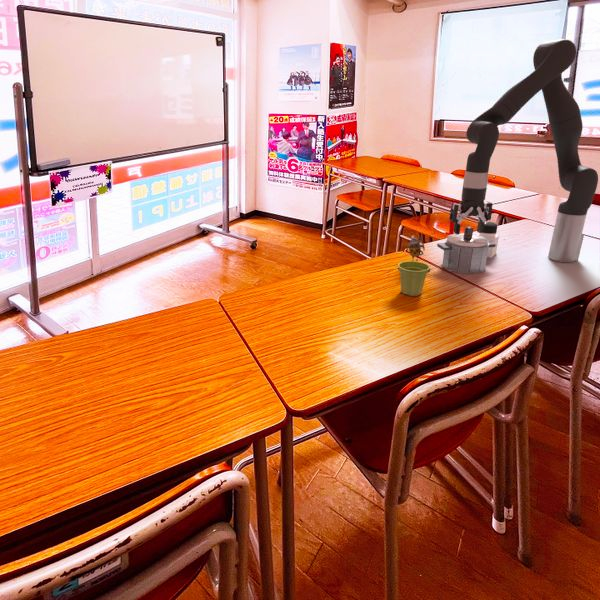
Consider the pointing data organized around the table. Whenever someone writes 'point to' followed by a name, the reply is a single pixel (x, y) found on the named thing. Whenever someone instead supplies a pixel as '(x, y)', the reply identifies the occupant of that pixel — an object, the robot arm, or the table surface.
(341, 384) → the table surface
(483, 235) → the medicine bottle
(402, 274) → the plant pot
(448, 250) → the pot
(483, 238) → the lid
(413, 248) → the robot figurine
